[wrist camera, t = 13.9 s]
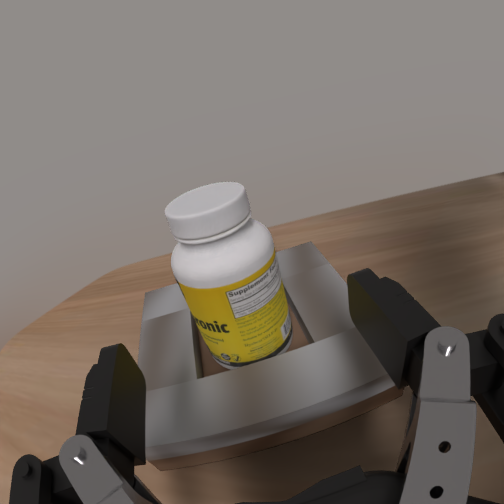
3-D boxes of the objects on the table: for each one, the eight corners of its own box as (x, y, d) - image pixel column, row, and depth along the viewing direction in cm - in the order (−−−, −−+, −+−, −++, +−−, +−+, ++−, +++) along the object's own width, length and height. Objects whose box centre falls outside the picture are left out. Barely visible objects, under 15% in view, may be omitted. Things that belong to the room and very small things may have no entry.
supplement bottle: (197, 340, 21) (140, 207, 16) (263, 302, 23) (227, 170, 18) (236, 390, 16) (169, 236, 12) (312, 341, 18) (283, 184, 14)
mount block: (315, 271, 27) (310, 241, 26) (402, 395, 15) (409, 362, 13) (159, 320, 26) (145, 292, 25) (160, 471, 14) (134, 448, 12)
